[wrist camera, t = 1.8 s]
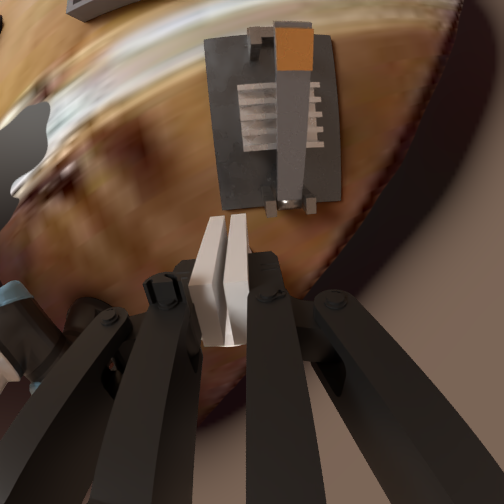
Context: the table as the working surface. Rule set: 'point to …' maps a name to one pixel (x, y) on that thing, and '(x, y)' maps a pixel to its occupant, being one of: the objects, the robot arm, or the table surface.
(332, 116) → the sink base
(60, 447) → the robot arm
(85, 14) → the tray
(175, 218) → the table surface
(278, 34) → the strap
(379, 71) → the table surface
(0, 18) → the figurine
